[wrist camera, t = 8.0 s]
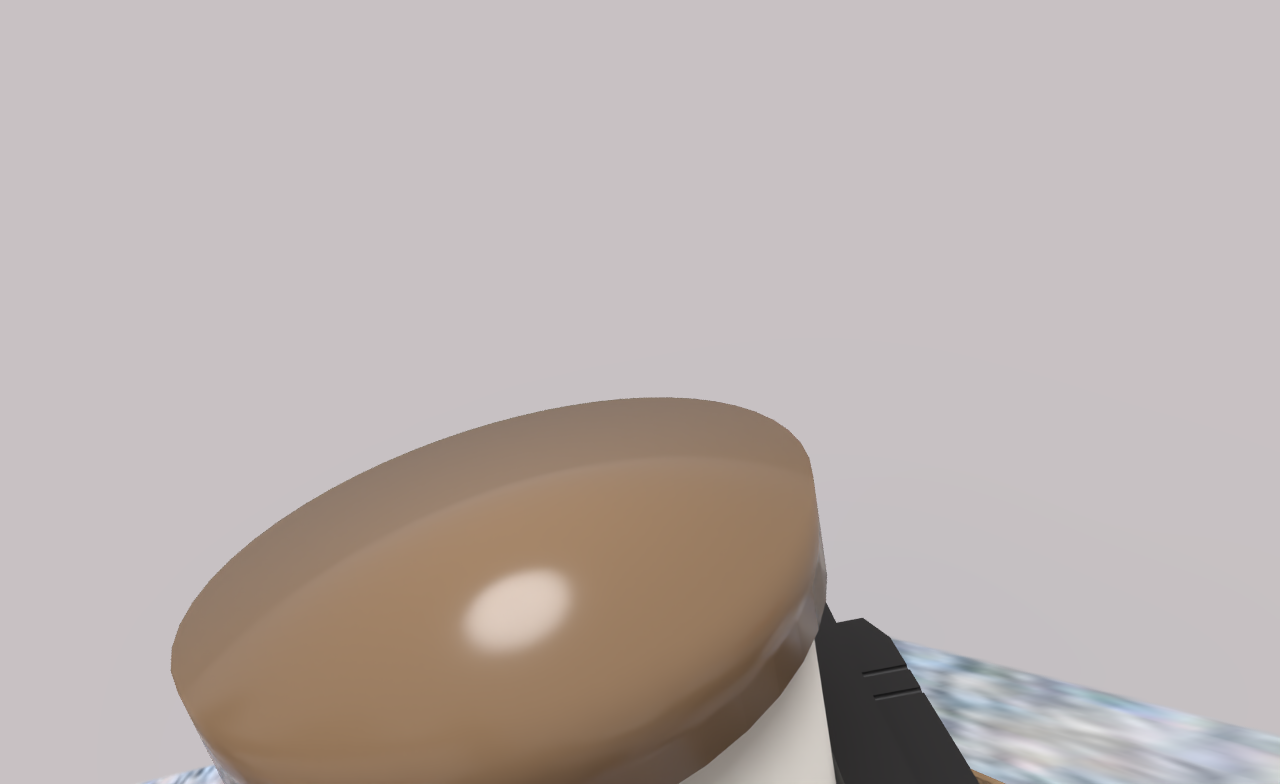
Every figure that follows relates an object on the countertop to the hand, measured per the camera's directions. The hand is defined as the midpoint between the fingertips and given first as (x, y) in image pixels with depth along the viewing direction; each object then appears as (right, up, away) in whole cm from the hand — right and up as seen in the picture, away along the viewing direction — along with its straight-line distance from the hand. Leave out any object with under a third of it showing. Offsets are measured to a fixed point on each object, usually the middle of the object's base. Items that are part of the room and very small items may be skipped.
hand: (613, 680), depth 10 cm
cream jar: (+1, -7, -1) cm, 7 cm away
